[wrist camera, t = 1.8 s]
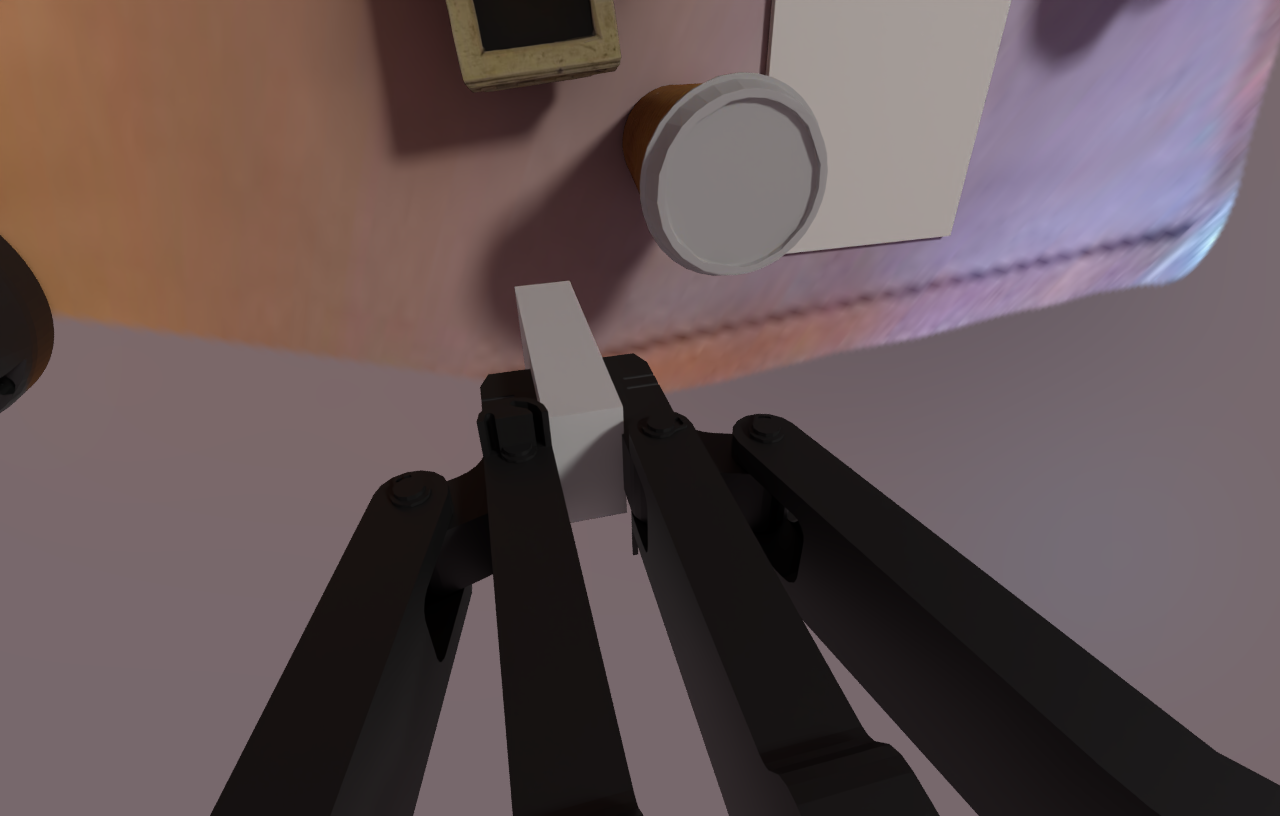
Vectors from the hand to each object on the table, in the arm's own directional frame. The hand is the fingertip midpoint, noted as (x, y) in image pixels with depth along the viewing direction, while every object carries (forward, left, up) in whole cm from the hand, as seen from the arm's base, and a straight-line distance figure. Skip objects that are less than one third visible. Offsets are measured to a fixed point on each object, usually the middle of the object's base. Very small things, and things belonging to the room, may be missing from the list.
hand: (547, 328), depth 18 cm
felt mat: (+25, 0, -24) cm, 35 cm away
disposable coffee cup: (+11, 0, -24) cm, 27 cm away
